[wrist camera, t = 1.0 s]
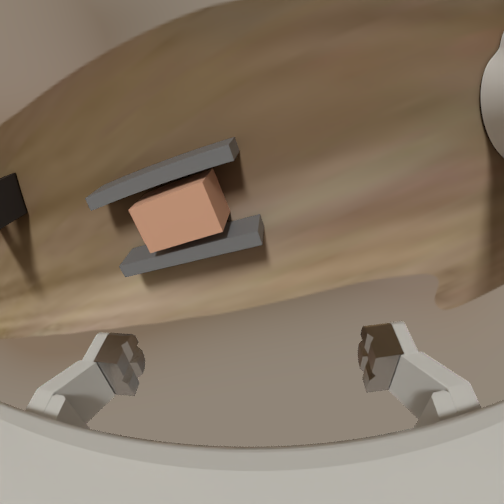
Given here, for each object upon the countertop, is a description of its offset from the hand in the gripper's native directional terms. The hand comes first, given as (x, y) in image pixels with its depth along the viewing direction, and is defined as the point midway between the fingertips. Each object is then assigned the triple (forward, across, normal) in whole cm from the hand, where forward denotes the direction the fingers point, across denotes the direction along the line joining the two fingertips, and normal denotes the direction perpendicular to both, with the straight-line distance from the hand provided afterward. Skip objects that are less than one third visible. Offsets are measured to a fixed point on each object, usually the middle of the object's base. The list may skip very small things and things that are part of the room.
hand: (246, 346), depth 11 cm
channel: (+23, +9, +2) cm, 25 cm away
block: (+24, +8, +2) cm, 25 cm away
